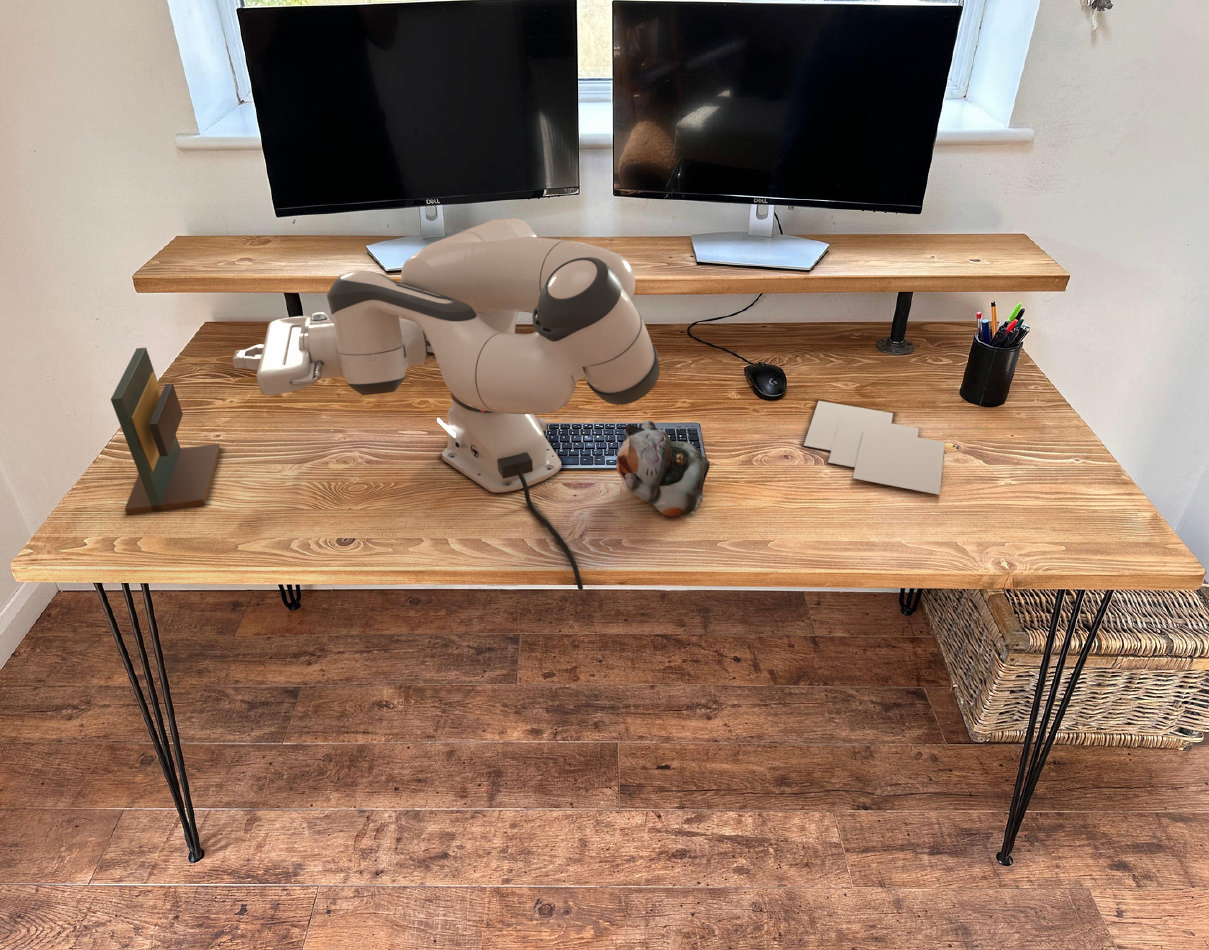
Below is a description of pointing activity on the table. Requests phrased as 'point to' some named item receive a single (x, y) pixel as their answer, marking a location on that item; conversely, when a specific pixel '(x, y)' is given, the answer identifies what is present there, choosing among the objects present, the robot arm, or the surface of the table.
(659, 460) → the lucky cat figurine
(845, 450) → the paper stack
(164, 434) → the switch button
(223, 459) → the table surface
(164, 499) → the switch stand
